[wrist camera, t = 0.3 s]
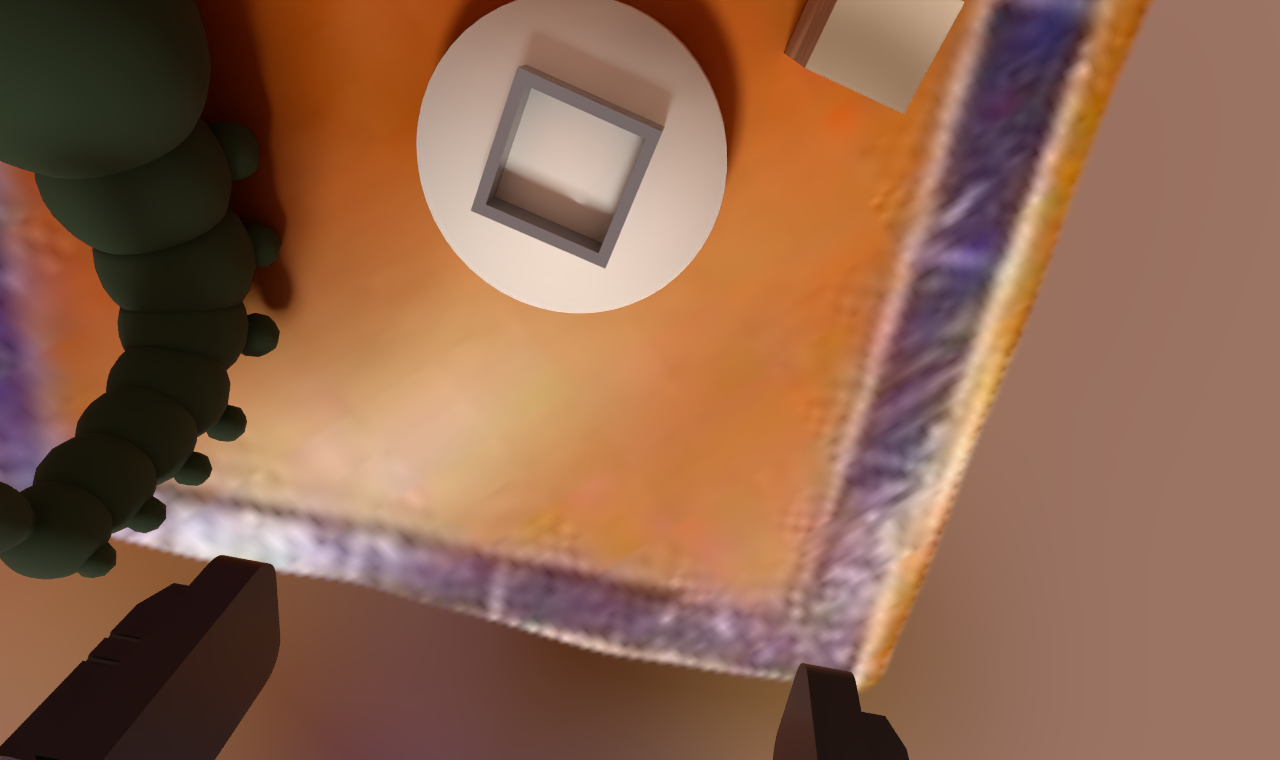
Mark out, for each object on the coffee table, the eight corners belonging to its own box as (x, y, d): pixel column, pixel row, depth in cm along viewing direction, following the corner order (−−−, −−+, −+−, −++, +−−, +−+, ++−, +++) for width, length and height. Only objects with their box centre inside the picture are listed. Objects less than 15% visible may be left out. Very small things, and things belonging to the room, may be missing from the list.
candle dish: (483, -63, 32) (457, -71, 29) (779, 74, 33) (785, 81, 30) (398, 231, 37) (369, 252, 34) (655, 340, 39) (649, 370, 35)
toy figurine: (355, 371, 43) (220, -209, 30) (129, 655, 26) (-369, -350, 14) (187, 368, 44) (-12, -198, 31) (-134, 640, 27) (-821, -319, 15)
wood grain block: (824, -34, 31) (860, -49, 23) (902, 3, 32) (964, 2, 24) (784, 52, 33) (804, 68, 25) (858, 87, 33) (903, 114, 25)
